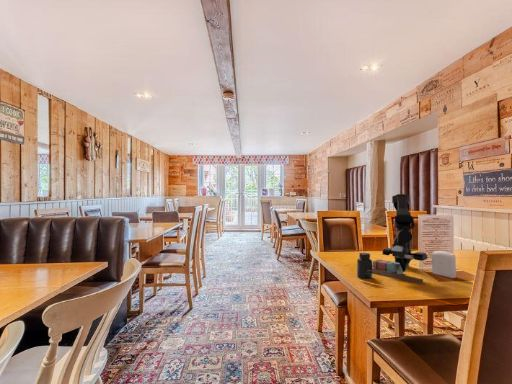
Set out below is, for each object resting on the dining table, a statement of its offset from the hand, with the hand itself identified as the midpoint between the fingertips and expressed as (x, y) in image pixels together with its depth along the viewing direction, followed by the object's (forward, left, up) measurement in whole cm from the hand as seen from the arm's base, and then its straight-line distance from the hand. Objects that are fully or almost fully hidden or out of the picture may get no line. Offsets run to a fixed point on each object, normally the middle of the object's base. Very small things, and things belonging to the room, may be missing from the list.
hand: (404, 271), depth 137 cm
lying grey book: (-10, -19, -4) cm, 22 cm away
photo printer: (-18, +11, -3) cm, 21 cm away
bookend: (0, -2, -2) cm, 3 cm away
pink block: (0, -10, -2) cm, 10 cm away
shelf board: (0, -2, -3) cm, 4 cm away
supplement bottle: (+15, -12, -3) cm, 20 cm away
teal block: (0, -5, -2) cm, 6 cm away
